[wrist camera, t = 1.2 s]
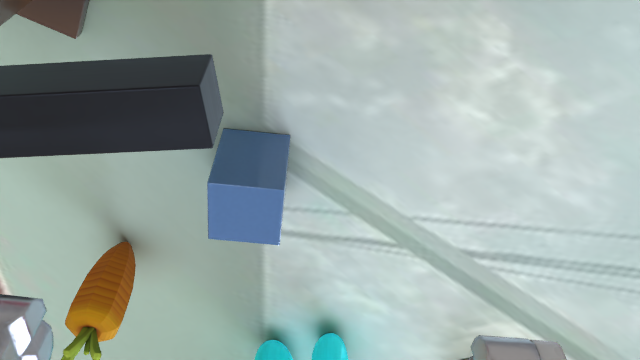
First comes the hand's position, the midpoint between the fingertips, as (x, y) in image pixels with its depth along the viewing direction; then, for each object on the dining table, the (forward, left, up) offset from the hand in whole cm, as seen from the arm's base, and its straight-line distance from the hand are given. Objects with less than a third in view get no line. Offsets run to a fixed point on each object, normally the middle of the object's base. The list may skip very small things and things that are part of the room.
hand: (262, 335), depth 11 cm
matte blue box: (+21, +4, -35) cm, 41 cm away
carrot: (+37, -4, -35) cm, 51 cm away
